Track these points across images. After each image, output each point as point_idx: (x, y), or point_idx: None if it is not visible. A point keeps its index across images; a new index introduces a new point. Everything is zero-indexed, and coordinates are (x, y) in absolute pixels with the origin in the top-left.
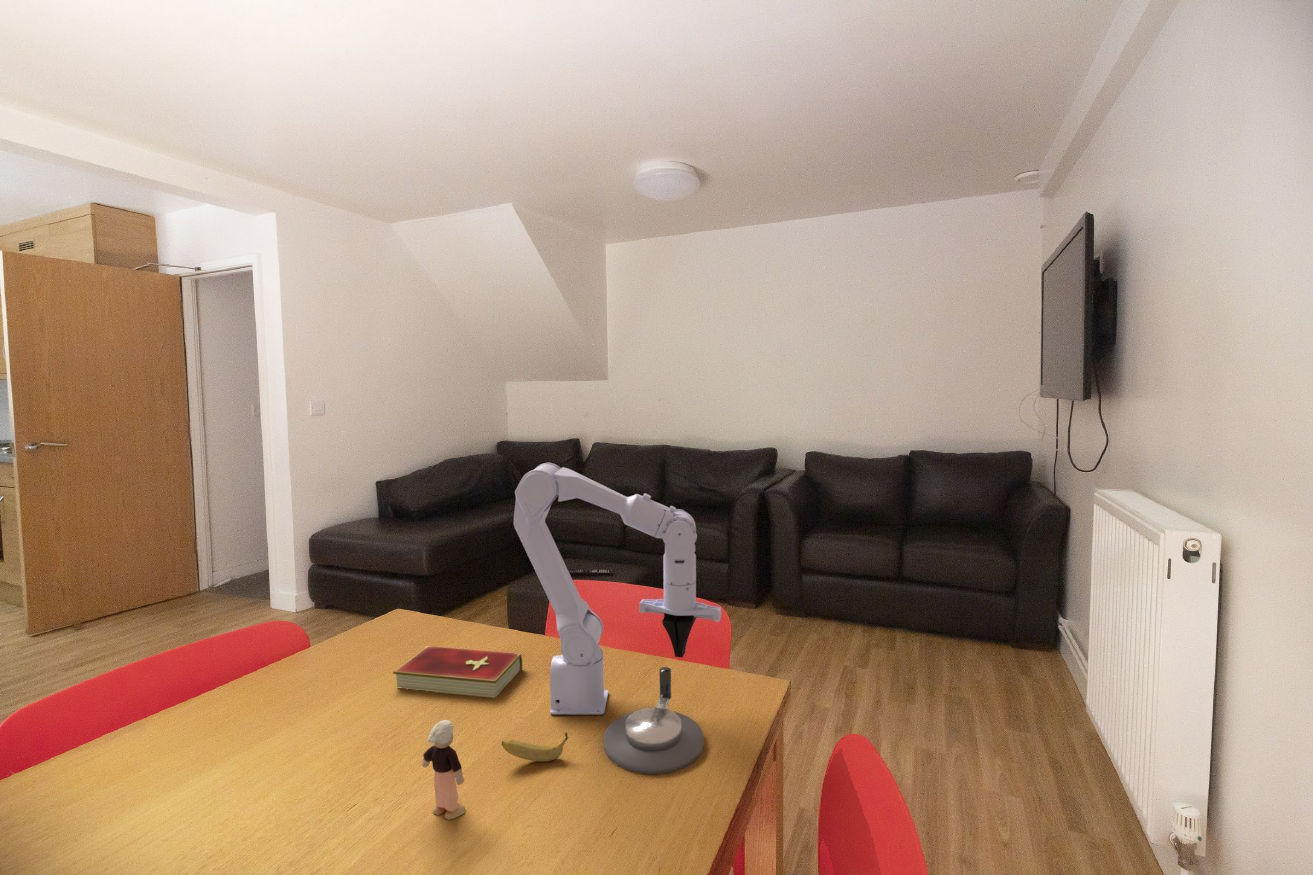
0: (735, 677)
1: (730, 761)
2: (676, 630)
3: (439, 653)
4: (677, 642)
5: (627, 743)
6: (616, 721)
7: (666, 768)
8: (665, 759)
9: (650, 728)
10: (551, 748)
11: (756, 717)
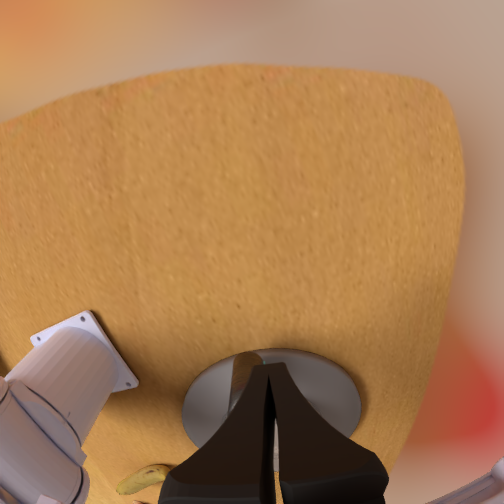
0: (352, 93)
1: (402, 400)
2: (275, 499)
3: None
4: (273, 444)
5: None
6: (186, 415)
7: None
8: None
9: (276, 456)
10: (161, 480)
11: (438, 269)
